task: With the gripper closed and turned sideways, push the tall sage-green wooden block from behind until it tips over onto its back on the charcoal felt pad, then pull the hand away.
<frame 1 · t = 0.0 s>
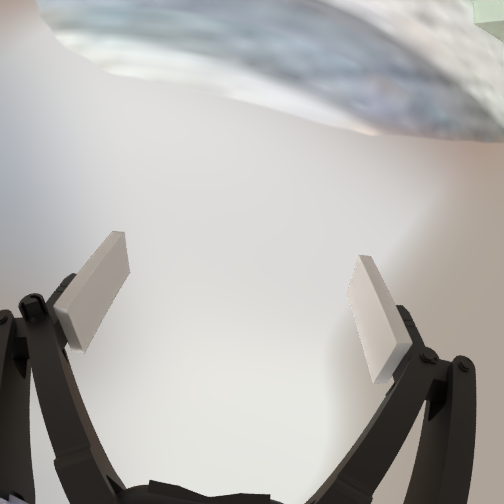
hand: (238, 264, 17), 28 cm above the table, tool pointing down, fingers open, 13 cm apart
sage block: (494, 22, 25), on the table
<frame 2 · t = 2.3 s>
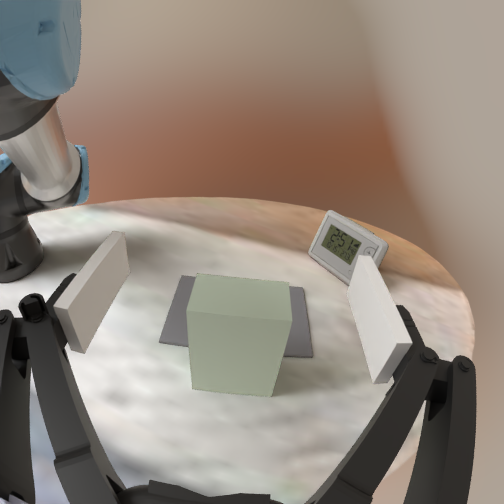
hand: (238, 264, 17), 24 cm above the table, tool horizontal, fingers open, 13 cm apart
digital clock: (339, 272, 62), on the table
sage block: (233, 375, 38), on the table
felt pad: (239, 314, 48), on the table
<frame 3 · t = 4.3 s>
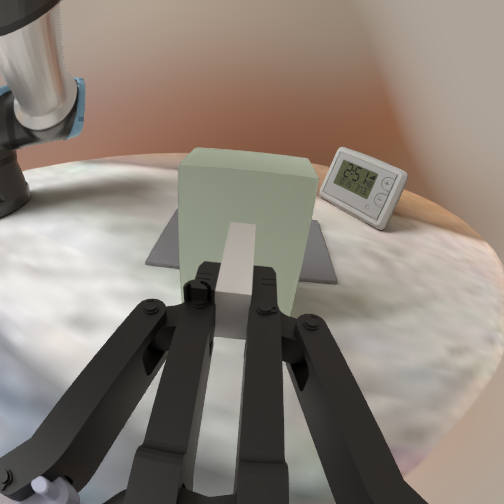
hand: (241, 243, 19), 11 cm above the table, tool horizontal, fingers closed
digital clock: (354, 213, 54), on the table
sage block: (237, 298, 31), on the table
felt pad: (244, 239, 41), on the table
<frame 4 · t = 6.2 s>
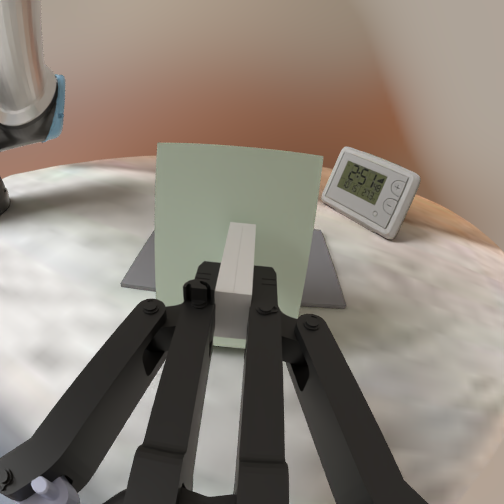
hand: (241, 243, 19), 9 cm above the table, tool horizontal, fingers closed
digital clock: (360, 220, 49), on the table
sage block: (227, 324, 25), point 1 cm above the table, tilted 11°
felt pad: (237, 254, 35), on the table
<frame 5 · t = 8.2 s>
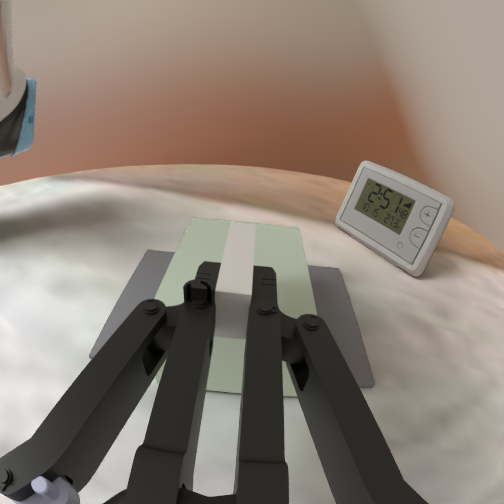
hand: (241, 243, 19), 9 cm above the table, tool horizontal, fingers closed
digital clock: (380, 249, 41), on the table
sage block: (229, 366, 18), point 3 cm above the table, tilted 90°, touching felt pad
felt pad: (237, 310, 27), on the table
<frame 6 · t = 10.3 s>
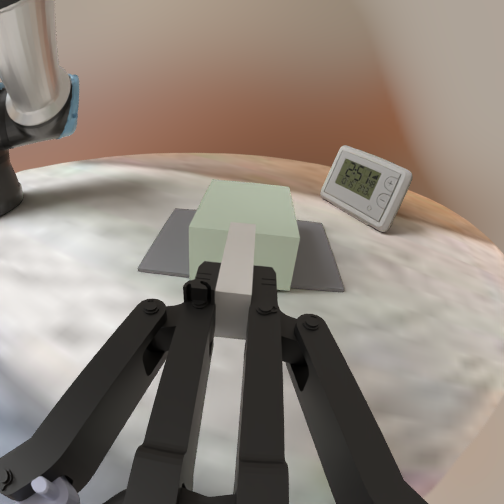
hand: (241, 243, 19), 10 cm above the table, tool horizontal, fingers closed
digital clock: (356, 214, 52), on the table
sage block: (241, 260, 29), point 3 cm above the table, tilted 90°, touching felt pad
felt pad: (244, 244, 38), on the table
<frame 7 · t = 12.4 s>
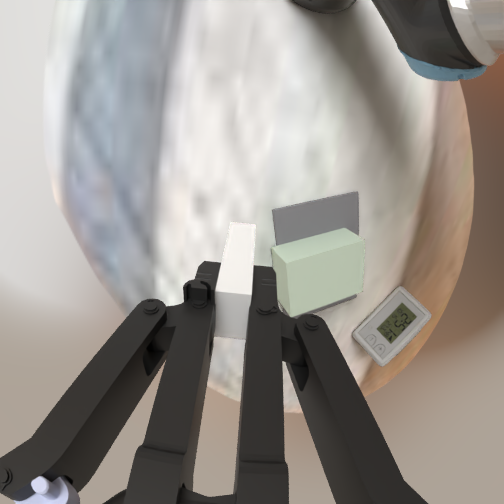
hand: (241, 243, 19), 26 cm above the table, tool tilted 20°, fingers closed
digital clock: (377, 312, 65), on the table
sage block: (281, 282, 48), point 3 cm above the table, tilted 90°, touching felt pad
felt pad: (320, 259, 53), on the table
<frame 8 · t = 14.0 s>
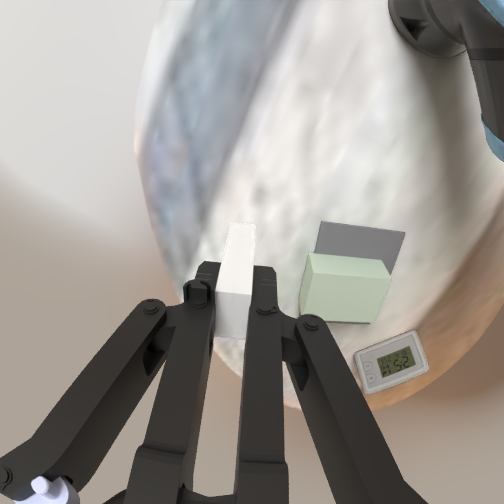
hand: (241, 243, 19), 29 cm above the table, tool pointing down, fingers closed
digital clock: (385, 344, 65), on the table
sage block: (305, 286, 52), point 3 cm above the table, tilted 90°, touching felt pad
felt pad: (349, 279, 55), on the table
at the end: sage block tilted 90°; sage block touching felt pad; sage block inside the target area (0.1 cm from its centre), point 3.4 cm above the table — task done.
